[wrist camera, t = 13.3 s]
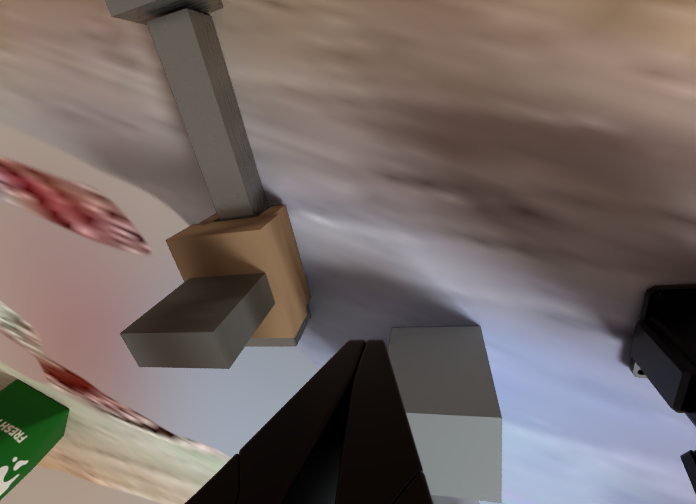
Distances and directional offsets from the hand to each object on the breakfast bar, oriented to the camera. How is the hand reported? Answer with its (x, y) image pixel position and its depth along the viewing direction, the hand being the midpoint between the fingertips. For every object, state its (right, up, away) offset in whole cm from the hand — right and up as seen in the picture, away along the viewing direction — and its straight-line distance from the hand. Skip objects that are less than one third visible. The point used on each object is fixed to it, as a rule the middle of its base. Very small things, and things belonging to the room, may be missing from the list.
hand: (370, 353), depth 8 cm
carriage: (-6, +2, +15) cm, 17 cm away
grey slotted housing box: (+6, -6, +16) cm, 18 cm away
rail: (-7, +7, +13) cm, 17 cm away
